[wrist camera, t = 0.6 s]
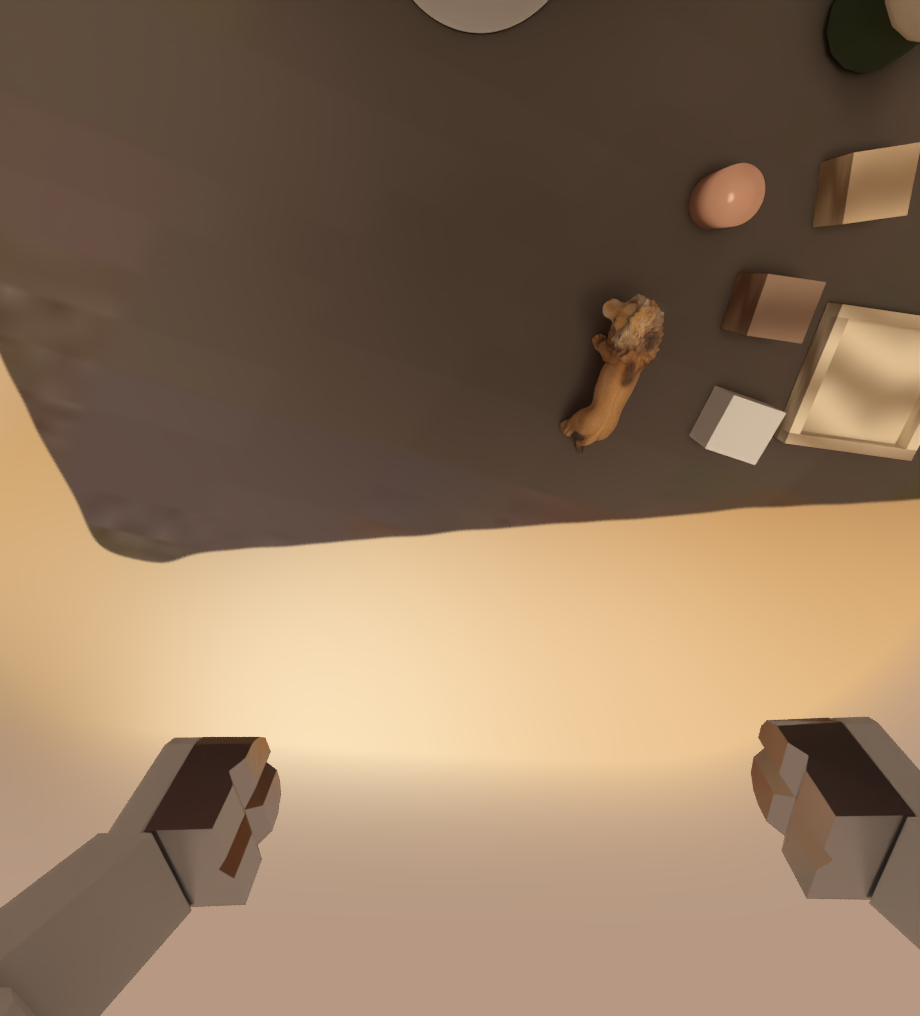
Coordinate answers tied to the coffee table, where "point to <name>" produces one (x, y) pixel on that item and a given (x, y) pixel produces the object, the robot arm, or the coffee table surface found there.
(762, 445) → the white plastic block
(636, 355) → the lion figurine
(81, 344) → the coffee table surface
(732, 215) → the pinkish tan rounded lump
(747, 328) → the walnut block
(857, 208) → the oak block
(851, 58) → the character mug
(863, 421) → the birch tray
